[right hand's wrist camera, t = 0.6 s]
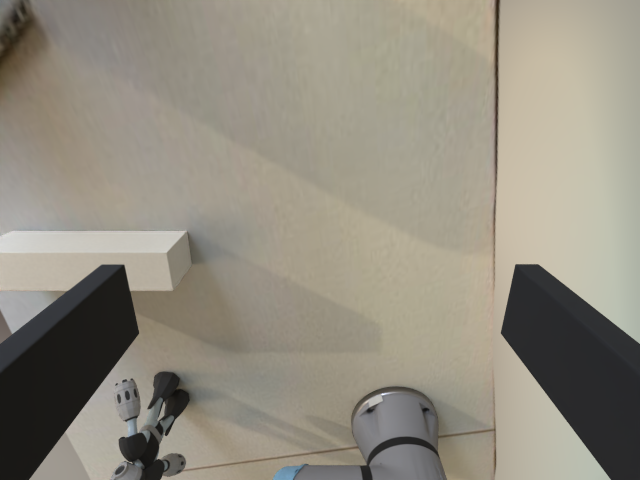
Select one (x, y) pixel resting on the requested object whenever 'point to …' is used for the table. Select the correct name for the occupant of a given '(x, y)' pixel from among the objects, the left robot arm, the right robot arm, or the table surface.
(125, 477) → the robot
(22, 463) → the right robot arm
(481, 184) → the table surface
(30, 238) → the bar
